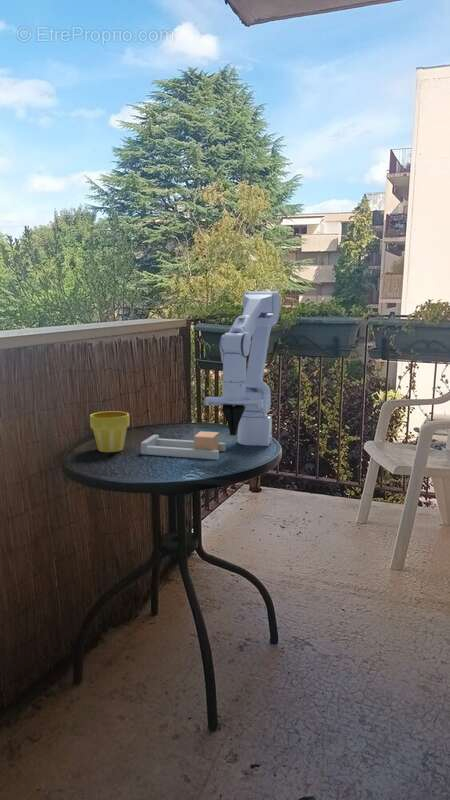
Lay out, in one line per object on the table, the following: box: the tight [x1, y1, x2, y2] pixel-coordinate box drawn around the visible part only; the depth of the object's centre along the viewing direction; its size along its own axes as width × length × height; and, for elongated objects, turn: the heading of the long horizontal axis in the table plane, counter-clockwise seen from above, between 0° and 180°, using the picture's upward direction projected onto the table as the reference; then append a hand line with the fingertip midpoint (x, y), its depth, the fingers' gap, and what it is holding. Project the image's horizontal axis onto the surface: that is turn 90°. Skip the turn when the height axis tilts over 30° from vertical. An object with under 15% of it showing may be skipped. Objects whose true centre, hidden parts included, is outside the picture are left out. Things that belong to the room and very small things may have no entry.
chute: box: [140, 434, 227, 460], centre depth 138 cm, size 20×14×4 cm
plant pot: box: [89, 410, 130, 453], centre depth 143 cm, size 10×10×10 cm
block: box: [193, 430, 220, 450], centre depth 137 cm, size 5×6×5 cm
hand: (233, 434), depth 135 cm, fingers closed
